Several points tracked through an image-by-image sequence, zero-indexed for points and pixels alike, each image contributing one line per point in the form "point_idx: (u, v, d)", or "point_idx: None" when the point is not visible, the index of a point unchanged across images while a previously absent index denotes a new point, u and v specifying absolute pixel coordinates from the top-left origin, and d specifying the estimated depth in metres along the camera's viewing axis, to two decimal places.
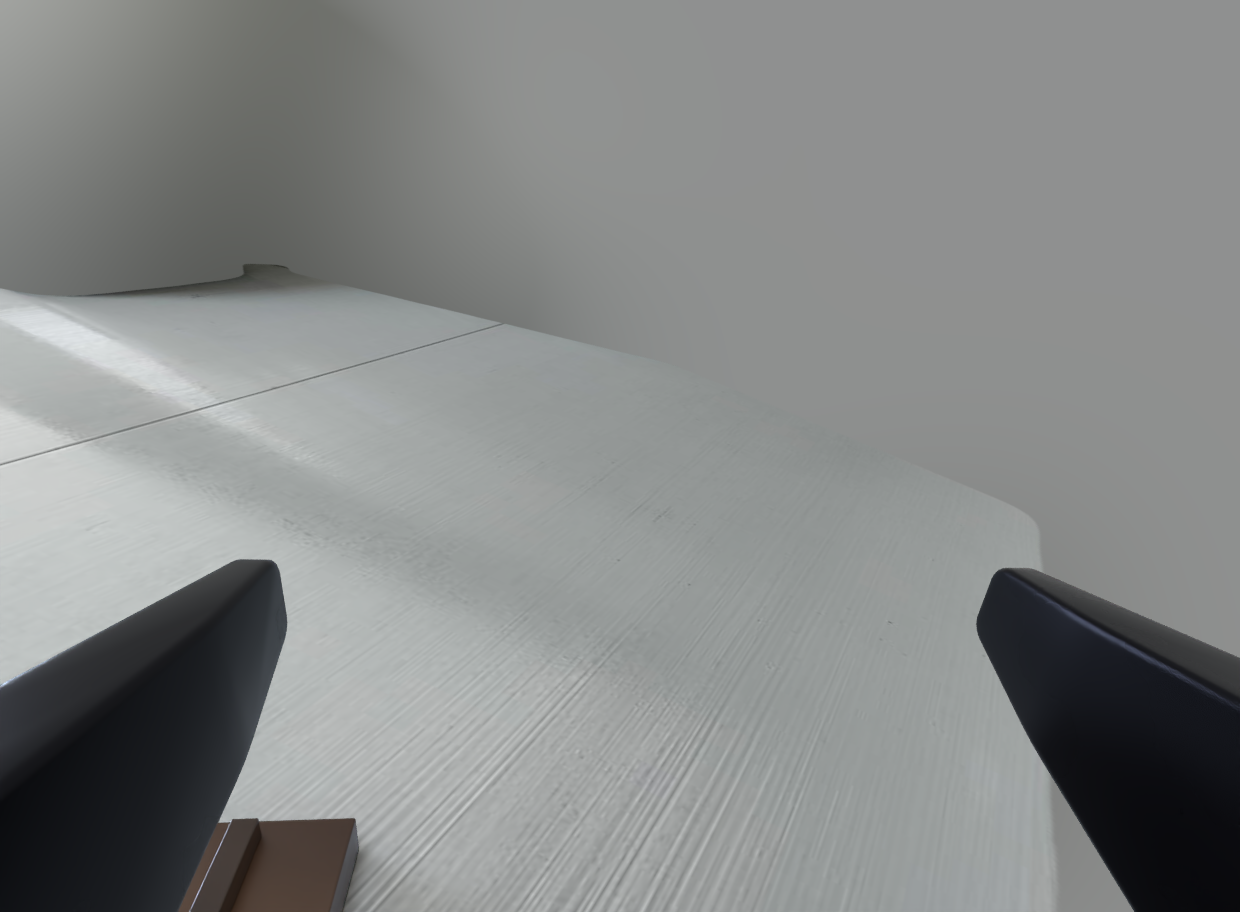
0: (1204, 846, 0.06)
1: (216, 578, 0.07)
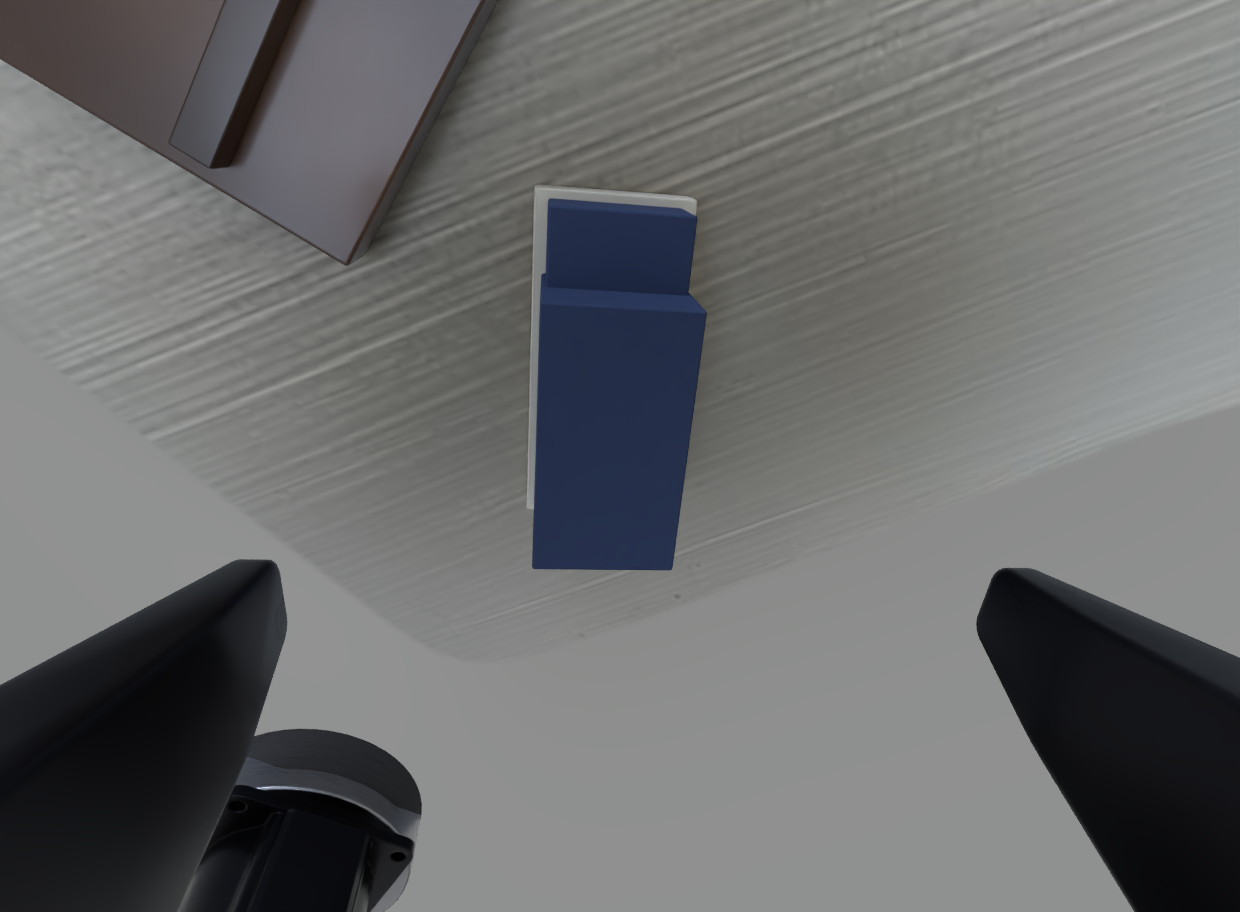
0: (1204, 846, 0.06)
1: (216, 578, 0.07)
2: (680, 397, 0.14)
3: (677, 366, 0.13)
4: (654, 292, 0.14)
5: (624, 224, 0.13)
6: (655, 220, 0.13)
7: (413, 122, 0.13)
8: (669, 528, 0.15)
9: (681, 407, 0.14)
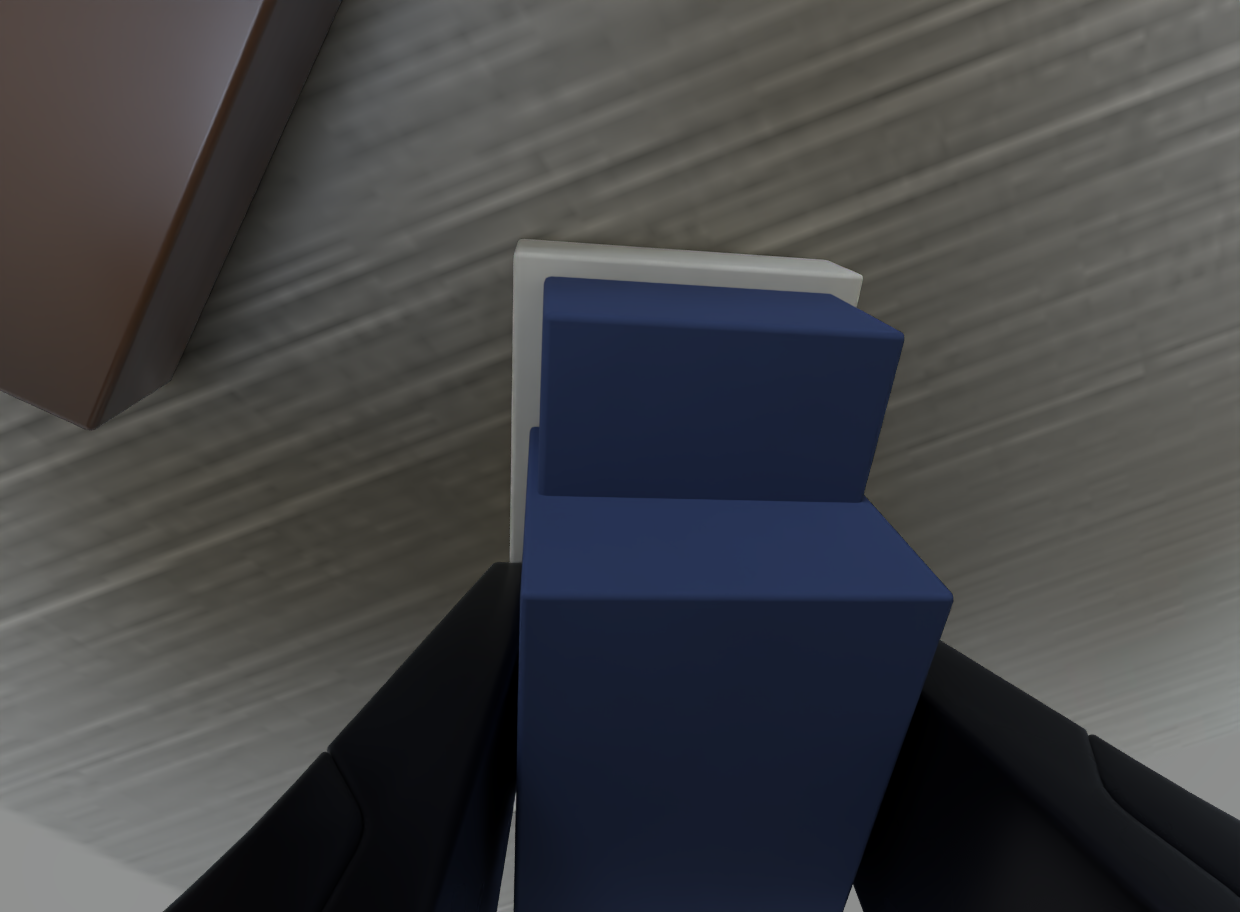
0: (912, 859, 0.06)
1: (493, 580, 0.07)
2: (862, 768, 0.06)
3: (863, 711, 0.05)
4: (784, 493, 0.06)
5: (731, 356, 0.05)
6: (808, 347, 0.05)
7: (206, 106, 0.05)
8: None
9: (860, 785, 0.06)
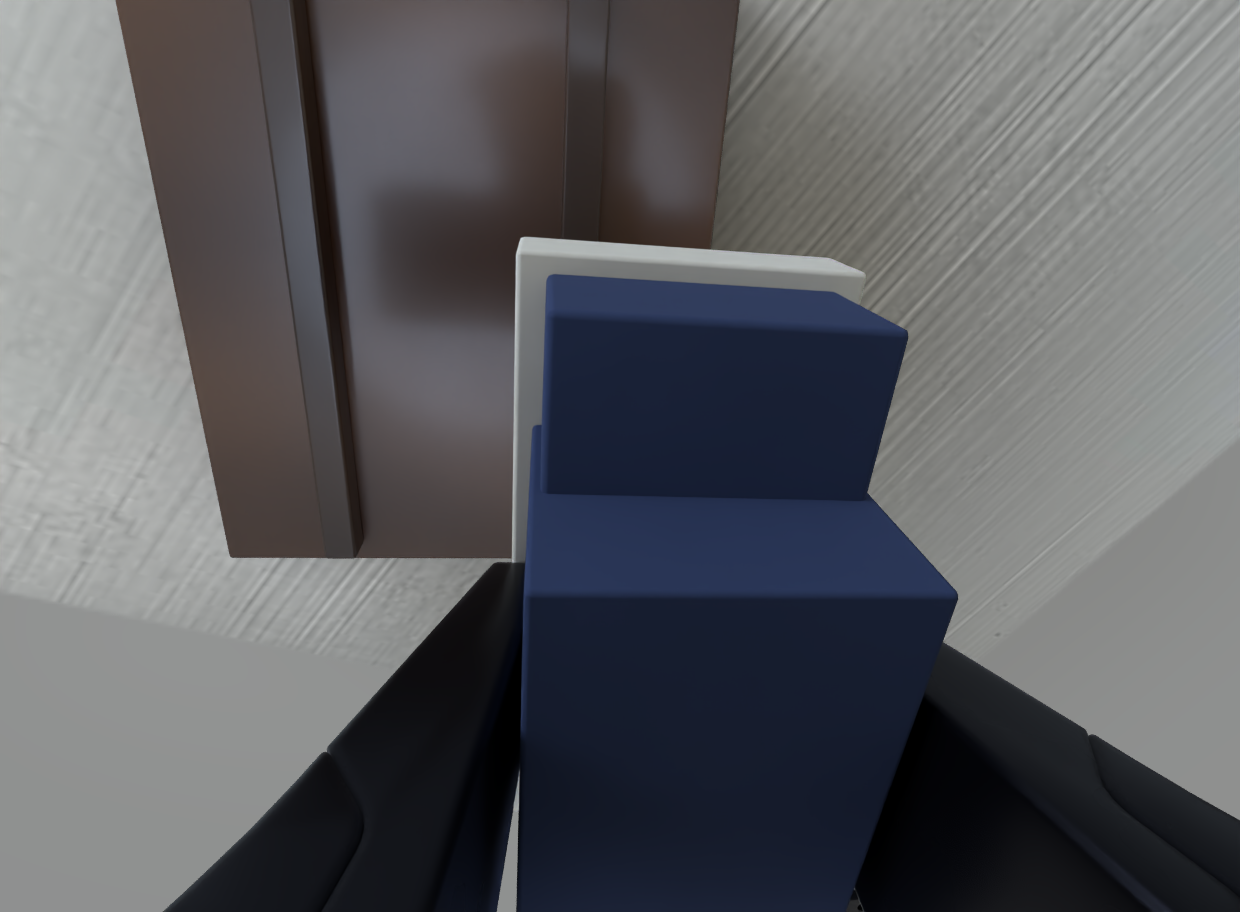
0: (912, 859, 0.06)
1: (493, 579, 0.07)
2: (866, 766, 0.06)
3: (867, 709, 0.05)
4: (788, 491, 0.06)
5: (734, 353, 0.05)
6: (811, 344, 0.05)
7: None
8: None
9: (864, 784, 0.06)
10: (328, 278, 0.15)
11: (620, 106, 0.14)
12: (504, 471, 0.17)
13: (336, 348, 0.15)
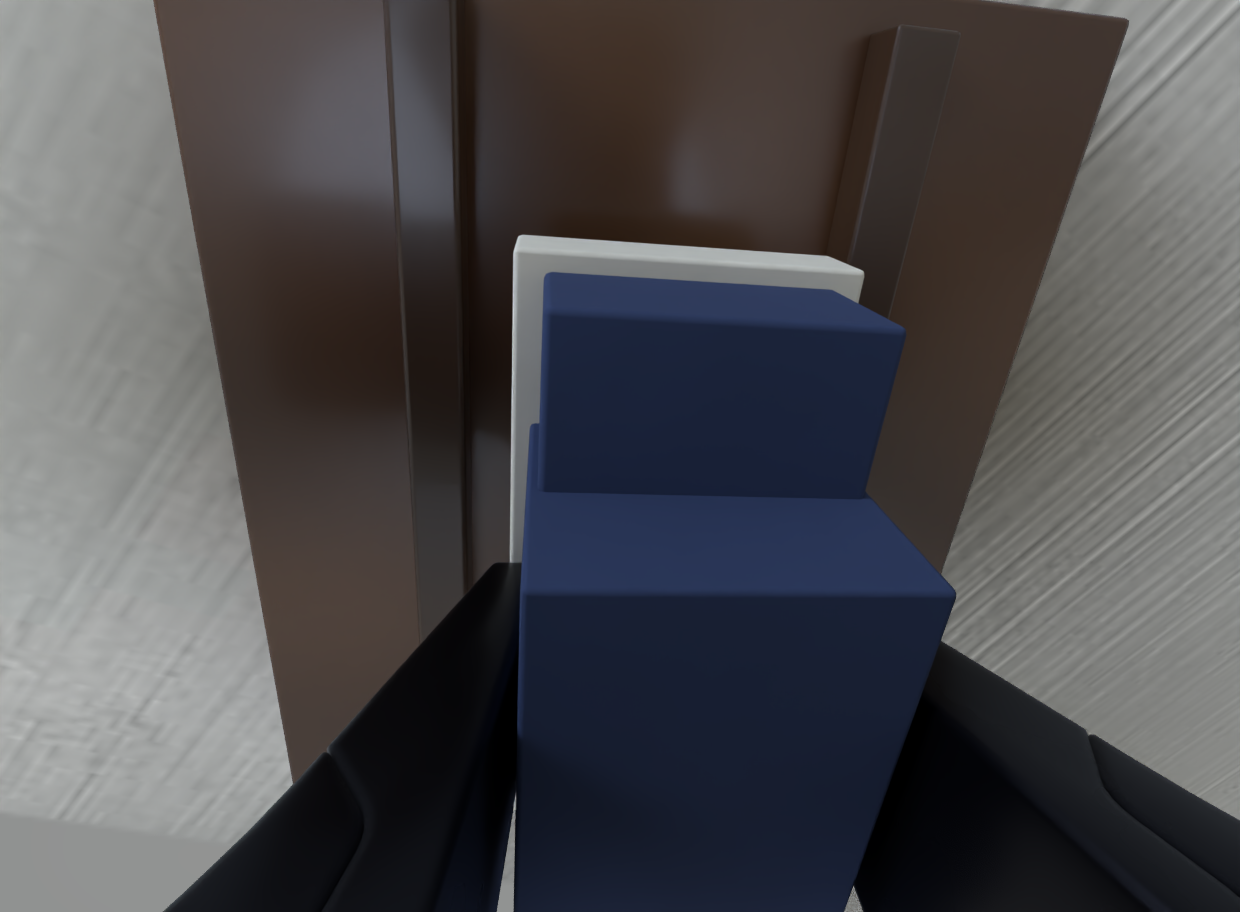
0: (912, 859, 0.06)
1: (493, 579, 0.07)
2: (864, 765, 0.06)
3: (865, 708, 0.05)
4: (786, 489, 0.06)
5: (732, 351, 0.05)
6: (809, 342, 0.05)
7: None
8: None
9: (862, 784, 0.06)
10: None
11: None
12: None
13: (467, 550, 0.11)
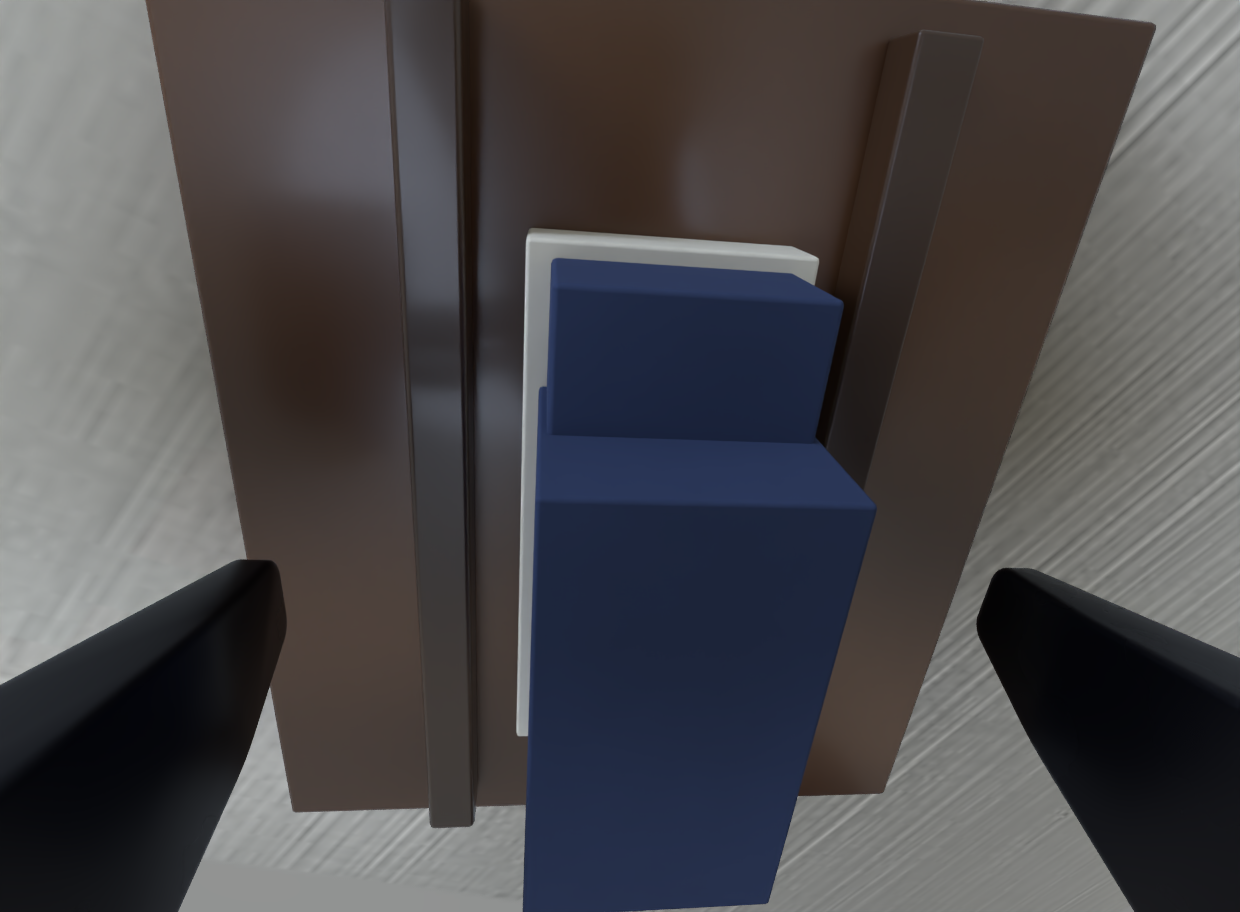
0: (1202, 846, 0.06)
1: (217, 576, 0.07)
2: (810, 654, 0.07)
3: (808, 603, 0.07)
4: (750, 436, 0.08)
5: (703, 319, 0.07)
6: (765, 311, 0.07)
7: (919, 678, 0.13)
8: (769, 848, 0.08)
9: (810, 669, 0.07)
10: (469, 478, 0.10)
11: None
12: None
13: (471, 569, 0.10)
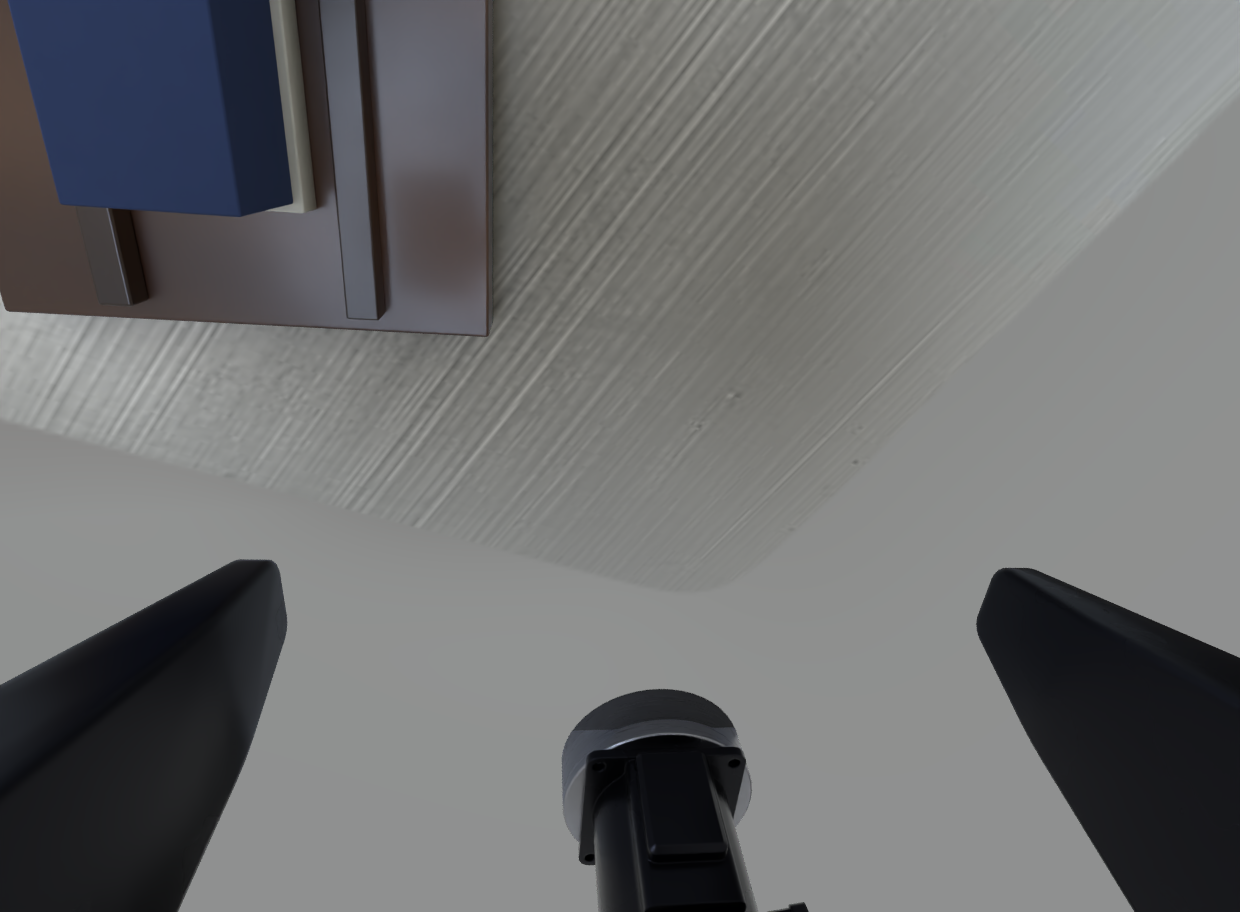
0: (1204, 846, 0.06)
1: (216, 578, 0.07)
2: None
3: None
4: None
5: None
6: None
7: (483, 211, 0.17)
8: (220, 152, 0.12)
9: None
10: None
11: None
12: (292, 220, 0.17)
13: None
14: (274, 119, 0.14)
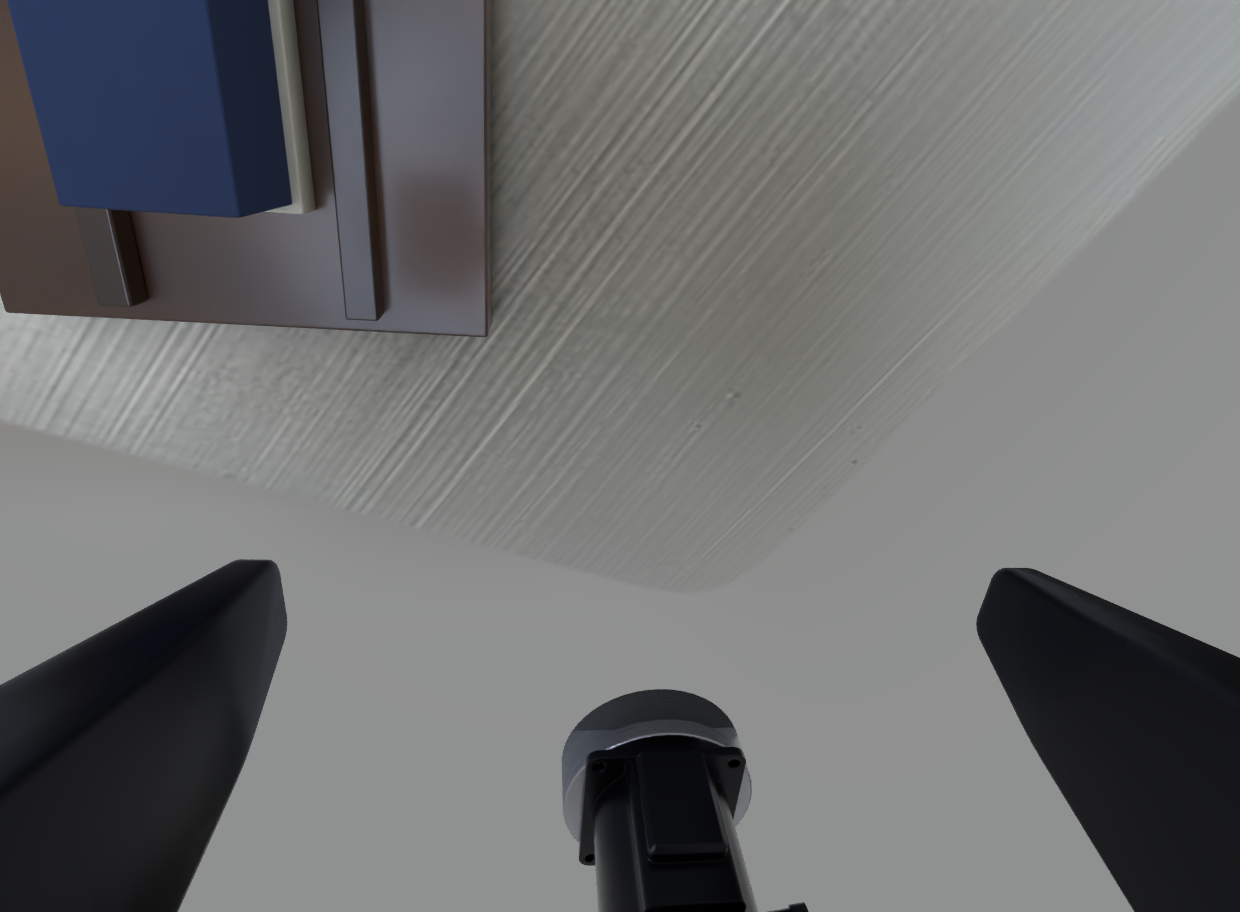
0: (1204, 846, 0.06)
1: (216, 578, 0.07)
2: None
3: None
4: None
5: None
6: None
7: (481, 212, 0.17)
8: (219, 153, 0.12)
9: None
10: None
11: None
12: (291, 221, 0.17)
13: None
14: (273, 120, 0.14)
